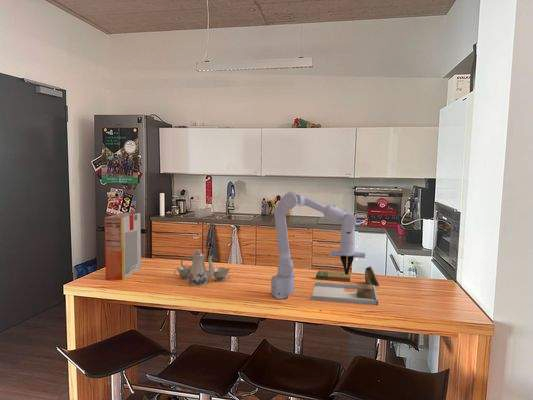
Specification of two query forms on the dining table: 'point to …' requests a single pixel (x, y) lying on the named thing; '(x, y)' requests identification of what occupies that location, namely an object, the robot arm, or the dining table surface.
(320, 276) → the carton
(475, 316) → the dining table surface
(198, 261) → the chinaware
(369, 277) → the rock
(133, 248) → the pasta box
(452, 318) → the dining table surface
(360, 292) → the walnut block
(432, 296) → the dining table surface
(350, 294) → the trap tray
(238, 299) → the dining table surface
